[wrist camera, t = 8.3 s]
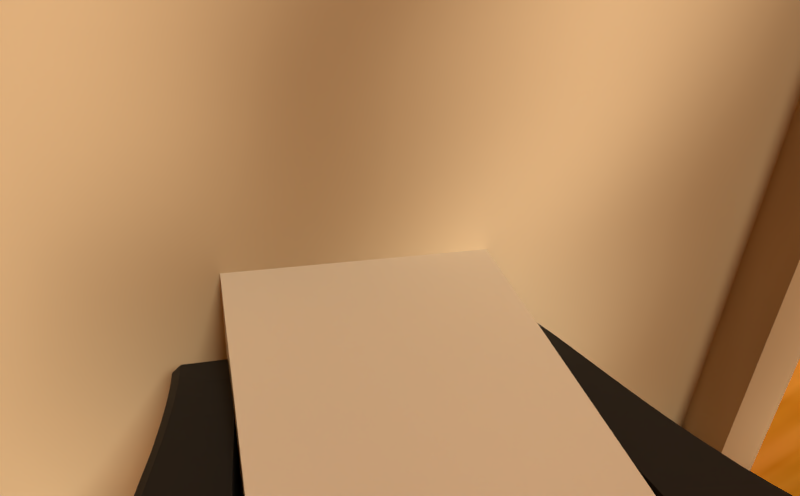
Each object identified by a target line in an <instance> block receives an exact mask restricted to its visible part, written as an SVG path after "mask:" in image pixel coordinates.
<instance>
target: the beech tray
mask: <svg viewBox="0 0 800 496" xmlns="http://www.w3.org/2000/svg"><path fill="white" fill-rule="evenodd" d="M482 249H487V250H488V252H489V253H490V255H491V256H492V258H493V259H494V261H495V262H496V264H497V265H498V266H499V268H500V269H501V271H502V272H503V274H504V275H505V277H506V278H507V280H508V281H509V283H510V284H511V285H512V287H513V288H514V290H515V291H516V293H517V294H518V296H519V297H520V299H521V300H522V301H523V303H524V304H525V306H526V307H527V309H528V310H529V312H530V313H531V315H532V316H533V318H534V319H535V320H536V322H537V323H538V324H540V325H541V326H543V327H544V328H545V329H547V330H548V331H550V332H551V333H553V334H554V335H555V336H557V337H558V338H560V339H561V340H562V341H564V342H565V343H566V344H568V345H569V346H570V347H572V348H573V349H574V350H576V351H577V352H578V353H580V354H581V355H583V356H584V357H585V358H587V359H588V360H589V361H591V362H592V363H593V364H595V365H596V366H597V367H599V368H600V369H601V370H603V371H604V372H605V373H607V374H608V375H609V376H611V377H612V378H613V379H615V380H616V381H618V382H619V383H620V384H622V385H623V386H624V387H626V388H627V389H628V390H630V391H631V392H633V393H634V394H635V395H637V396H638V397H640V398H641V399H642V400H644V401H645V402H647V403H648V404H649V405H651V406H652V407H654V408H655V409H656V410H658V411H659V412H661V413H662V414H663V415H665V416H666V417H668V418H669V419H671V420H672V421H674V422H675V423H677V424H678V425H679V426H681V427H682V428H684V429H685V430H687V431H688V432H690V433H691V434H693V435H694V436H696V437H697V438H699V439H700V440H702V441H703V442H705V443H707V444H708V445H710V446H711V447H713V448H714V449H716V450H717V451H719V452H721V453H722V454H724V455H725V456H727V457H728V458H730V459H731V460H733V461H735V462H736V463H738V464H739V465H741V466H742V467H744V468H746V469H747V470H749V471H750V470H751V467H752V465H753V463H754V460H755V458H756V456H757V454H758V451H759V449H760V447H761V445H762V442H763V440H764V438H765V436H766V433H767V431H768V429H769V426H770V424H771V422H772V420H773V417H774V415H775V413H776V411H777V408H778V406H779V404H780V402H781V399H782V397H783V395H784V393H785V390H786V388H787V386H788V383H789V381H790V379H791V377H792V374H793V372H794V370H795V368H796V365H797V363H798V361H799V359H800V0H0V496H134V494H135V491H136V489H137V486H138V484H139V481H140V479H141V476H142V474H143V471H144V469H145V466H146V463H147V461H148V458H149V456H150V453H151V451H152V448H153V445H154V442H155V439H156V436H157V433H158V430H159V427H160V424H161V420H162V417H163V414H164V410H165V406H166V402H167V398H168V394H169V390H170V384H171V377H172V373H173V372H174V371H175V370H176V369H177V368H178V367H179V366H180V365H183V364H192V363H200V362H208V361H217V360H225V359H227V357H226V344H225V332H224V319H223V306H222V293H221V280H220V273H231V272H242V271H253V270H264V269H275V268H285V267H296V266H307V265H318V264H329V263H340V262H351V261H362V260H373V259H384V258H395V257H406V256H417V255H428V254H438V253H449V252H460V251H471V250H482Z"/></svg>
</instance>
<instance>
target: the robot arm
mask: <svg viewBox="0 0 800 496" xmlns="http://www.w3.org/2000/svg"><path fill="white" fill-rule="evenodd" d="M538 325H539V326H540V328H541V329H542V331H543V332H544V334H545V335H546V336H547V338H548V339H549V341H550V342H551V344H552V345H553V347H554V348H555V350H556V351H557V353H558V354H559V355H560V357H561V358H562V360H563V361H564V363H565V364H566V366H567V367H568V369H569V370H570V371H571V373H572V374H573V376H574V377H575V379H576V380H577V382H578V383H579V385H580V386H581V388H582V389H583V390H584V392H585V393H586V395H587V396H588V398H589V399H590V401H591V402H592V404H593V405H594V406H595V408H596V409H597V411H598V412H599V414H600V415H601V417H602V418H603V420H604V421H605V423H606V424H607V425H608V427H609V428H610V430H611V431H612V433H613V434H614V436H615V437H616V439H617V440H618V441H619V443H620V444H621V446H622V447H623V449H624V450H625V452H626V453H627V455H628V456H629V458H630V459H631V460H632V462H633V463H634V465H635V466H636V468H637V469H638V471H639V472H640V474H641V475H642V476H643V478H644V479H645V481H646V482H647V484H648V485H649V487H650V488H651V490H652V491H653V493H654V494H655V495H656V496H792V495H790V494H789V493H787V492H785V491H783V490H782V489H780V488H778V487H776V486H774V485H773V484H771V483H769V482H767V481H766V480H764V479H762V478H761V477H759V476H757V475H756V474H754V473H752V472H751V471H749V470H747V469H746V468H744V467H742V466H741V465H739V464H738V463H736V462H735V461H733V460H731V459H730V458H728V457H727V456H725V455H724V454H722V453H721V452H719V451H717V450H716V449H714V448H713V447H711V446H710V445H708V444H707V443H705V442H703V441H702V440H700V439H699V438H697V437H696V436H694V435H693V434H691V433H690V432H688V431H687V430H685V429H684V428H682V427H681V426H679V425H678V424H677V423H675V422H674V421H672V420H671V419H669V418H668V417H666V416H665V415H663V414H662V413H661V412H659V411H658V410H656V409H655V408H654V407H652V406H651V405H649V404H648V403H647V402H645V401H644V400H642V399H641V398H640V397H638V396H637V395H635V394H634V393H633V392H631V391H630V390H628V389H627V388H626V387H624V386H623V385H622V384H620V383H619V382H618V381H616V380H615V379H613V378H612V377H611V376H609V375H608V374H607V373H605V372H604V371H603V370H601V369H600V368H599V367H597V366H596V365H595V364H593V363H592V362H591V361H589V360H588V359H587V358H585V357H584V356H583V355H581V354H580V353H578V352H577V351H576V350H574V349H573V348H572V347H570V346H569V345H568V344H566V343H565V342H564V341H562V340H561V339H560V338H558V337H557V336H555V335H554V334H553V333H551V332H550V331H548V330H547V329H545V328H544V327H543V326H541V325H540V324H538ZM134 496H241V494H240V481H239V468H238V454H237V441H236V427H235V414H234V405H233V397H232V389H231V381H230V373H229V365H228V359H225V360H217V361H208V362H200V363H192V364H183V365H180V366H179V367H178V368H177V369H176V370H175V371H174V372H173V373H172V377H171V384H170V390H169V394H168V398H167V402H166V406H165V410H164V414H163V417H162V420H161V424H160V427H159V430H158V433H157V436H156V439H155V442H154V445H153V448H152V451H151V453H150V456H149V458H148V461H147V463H146V466H145V469H144V471H143V474H142V476H141V479H140V481H139V484H138V486H137V489H136V491H135V494H134Z"/></svg>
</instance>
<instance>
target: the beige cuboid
mask: <svg viewBox="0 0 800 496" xmlns="http://www.w3.org/2000/svg"><path fill="white" fill-rule="evenodd" d="M220 280H221V293H222V306H223V319H224V332H225V344H226V357H227V359H228V365H229V373H230V381H231V389H232V397H233V405H234V414H235V427H236V441H237V454H238V468H239V481H240V494H241V496H656V495H655V494H654V493H653V491H652V490H651V488H650V487H649V485H648V484H647V482H646V481H645V479H644V478H643V476H642V475H641V474H640V472H639V471H638V469H637V468H636V466H635V465H634V463H633V462H632V460H631V459H630V458H629V456H628V455H627V453H626V452H625V450H624V449H623V447H622V446H621V444H620V443H619V441H618V440H617V439H616V437H615V436H614V434H613V433H612V431H611V430H610V428H609V427H608V425H607V424H606V423H605V421H604V420H603V418H602V417H601V415H600V414H599V412H598V411H597V409H596V408H595V406H594V405H593V404H592V402H591V401H590V399H589V398H588V396H587V395H586V393H585V392H584V390H583V389H582V388H581V386H580V385H579V383H578V382H577V380H576V379H575V377H574V376H573V374H572V373H571V371H570V370H569V369H568V367H567V366H566V364H565V363H564V361H563V360H562V358H561V357H560V355H559V354H558V353H557V351H556V350H555V348H554V347H553V345H552V344H551V342H550V341H549V339H548V338H547V336H546V335H545V334H544V332H543V331H542V329H541V328H540V326H539V325H538V323H537V322H536V320H535V319H534V318H533V316H532V315H531V313H530V312H529V310H528V309H527V307H526V306H525V304H524V303H523V301H522V300H521V299H520V297H519V296H518V294H517V293H516V291H515V290H514V288H513V287H512V285H511V284H510V283H509V281H508V280H507V278H506V277H505V275H504V274H503V272H502V271H501V269H500V268H499V266H498V265H497V264H496V262H495V261H494V259H493V258H492V256H491V255H490V253H489V252H488V250H487V249H482V250H471V251H460V252H449V253H438V254H428V255H417V256H406V257H395V258H384V259H373V260H362V261H351V262H340V263H329V264H318V265H307V266H296V267H285V268H275V269H264V270H253V271H242V272H231V273H220Z"/></svg>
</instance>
